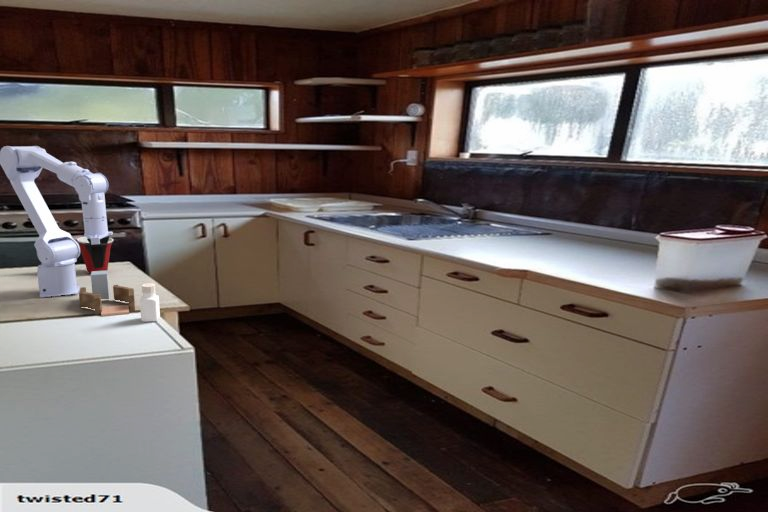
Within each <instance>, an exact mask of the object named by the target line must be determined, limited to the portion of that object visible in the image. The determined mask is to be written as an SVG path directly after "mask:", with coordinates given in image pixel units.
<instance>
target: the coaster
mask: <svg viewBox="0 0 768 512" xmlns="http://www.w3.org/2000/svg"><path fill="white" fill-rule="evenodd" d="M128 314H130V305H129V304H123V305H109V306H102V311H101V314H100V316H101V317H108V316H109V317H110V316H119V315H128Z"/></svg>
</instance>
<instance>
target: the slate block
mask: <svg viewBox="0 0 768 512" xmlns="http://www.w3.org/2000/svg"><path fill="white" fill-rule="evenodd" d="M90 279H91V280H90V283H91V293H94V294H99V295H101V299H109V300H110V298H109V295H110V285H109V284H110V283H109V273H108V270H106V271H92V272H91V274H90Z"/></svg>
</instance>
